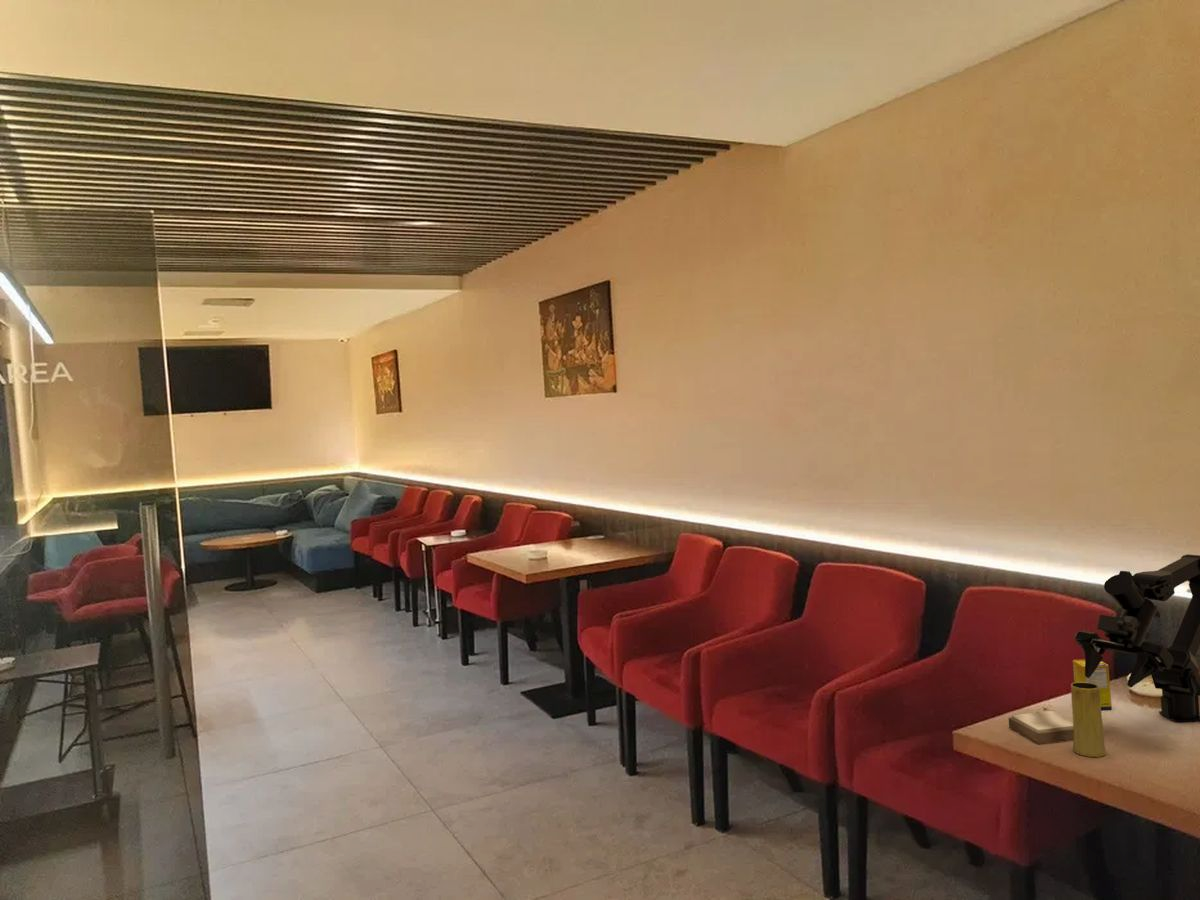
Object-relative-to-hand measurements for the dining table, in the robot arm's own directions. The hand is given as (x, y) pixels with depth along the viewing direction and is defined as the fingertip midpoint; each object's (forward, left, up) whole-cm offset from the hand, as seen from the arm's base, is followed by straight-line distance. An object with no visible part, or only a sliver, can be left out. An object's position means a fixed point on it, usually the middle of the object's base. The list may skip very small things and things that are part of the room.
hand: (1107, 681), depth 183 cm
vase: (+7, +4, -14) cm, 16 cm away
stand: (+10, -8, -14) cm, 19 cm away
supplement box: (-9, -23, -14) cm, 29 cm away
